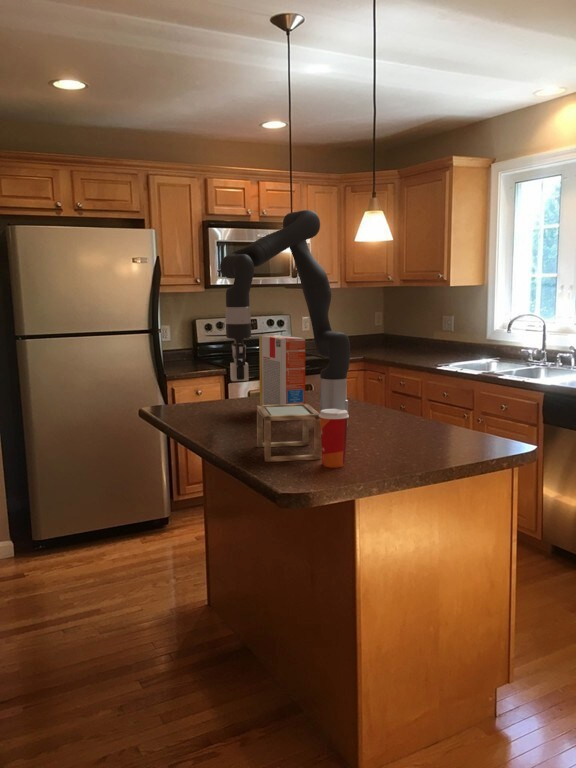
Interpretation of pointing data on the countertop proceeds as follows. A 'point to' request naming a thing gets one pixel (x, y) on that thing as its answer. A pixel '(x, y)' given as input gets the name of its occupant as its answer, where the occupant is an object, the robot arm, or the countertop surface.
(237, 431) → the countertop surface
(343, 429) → the coffee cup
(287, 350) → the cereal box
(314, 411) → the frame
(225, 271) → the robot arm
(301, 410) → the trapdoor
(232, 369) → the white cube
